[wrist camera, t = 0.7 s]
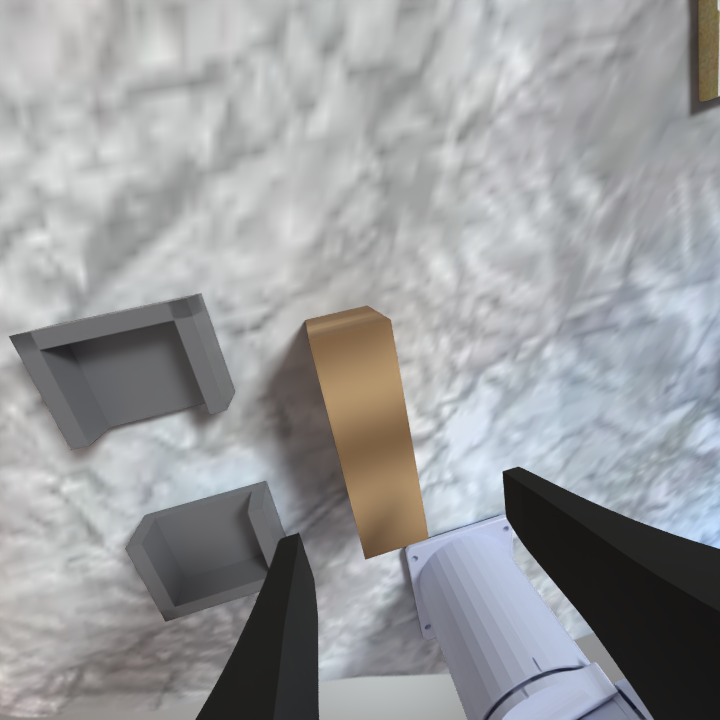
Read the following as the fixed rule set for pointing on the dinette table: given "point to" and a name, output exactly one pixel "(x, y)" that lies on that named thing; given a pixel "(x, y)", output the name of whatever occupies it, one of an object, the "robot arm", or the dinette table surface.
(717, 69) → the baseboard molding
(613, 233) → the dinette table surface
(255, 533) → the end caps
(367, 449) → the brown wooden block
